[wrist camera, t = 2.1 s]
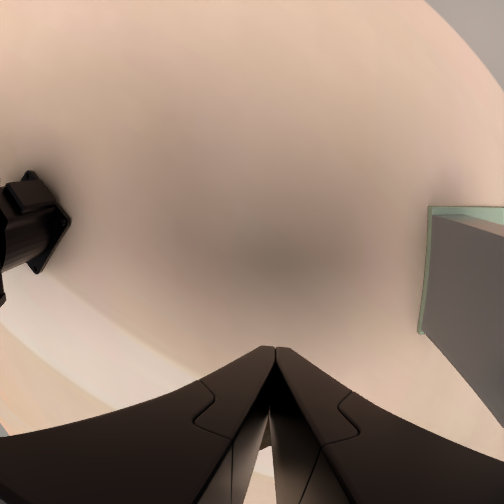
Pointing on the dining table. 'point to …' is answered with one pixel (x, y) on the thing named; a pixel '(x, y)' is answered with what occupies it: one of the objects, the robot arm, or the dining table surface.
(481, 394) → the gray rectangular block
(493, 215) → the mat
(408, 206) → the dining table surface
